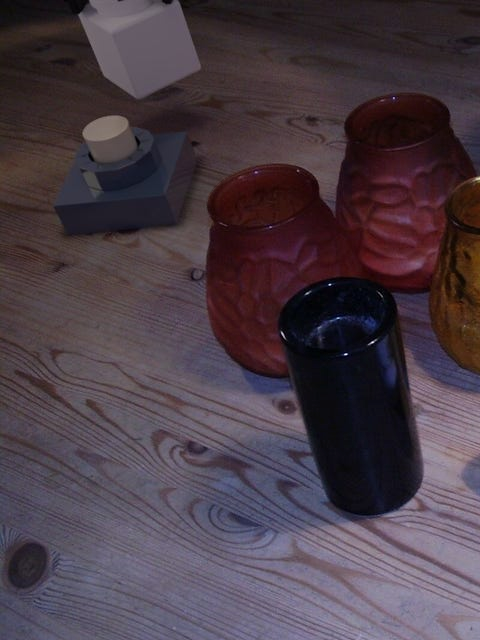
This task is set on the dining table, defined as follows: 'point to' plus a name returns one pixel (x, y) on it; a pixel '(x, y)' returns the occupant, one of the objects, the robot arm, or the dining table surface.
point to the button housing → (128, 186)
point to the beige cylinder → (110, 139)
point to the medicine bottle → (140, 43)
